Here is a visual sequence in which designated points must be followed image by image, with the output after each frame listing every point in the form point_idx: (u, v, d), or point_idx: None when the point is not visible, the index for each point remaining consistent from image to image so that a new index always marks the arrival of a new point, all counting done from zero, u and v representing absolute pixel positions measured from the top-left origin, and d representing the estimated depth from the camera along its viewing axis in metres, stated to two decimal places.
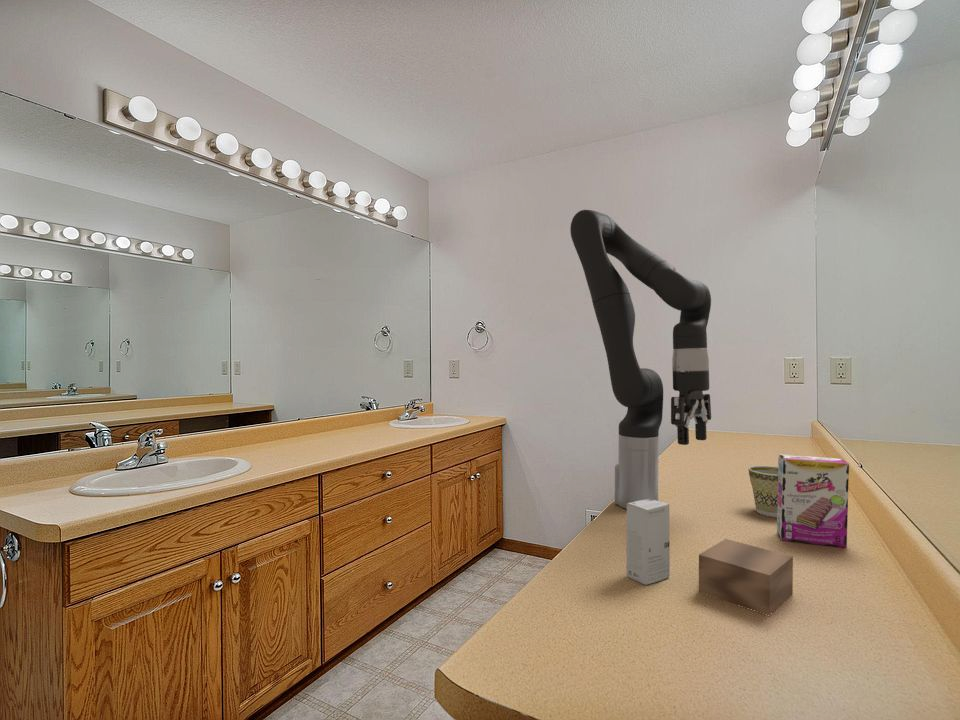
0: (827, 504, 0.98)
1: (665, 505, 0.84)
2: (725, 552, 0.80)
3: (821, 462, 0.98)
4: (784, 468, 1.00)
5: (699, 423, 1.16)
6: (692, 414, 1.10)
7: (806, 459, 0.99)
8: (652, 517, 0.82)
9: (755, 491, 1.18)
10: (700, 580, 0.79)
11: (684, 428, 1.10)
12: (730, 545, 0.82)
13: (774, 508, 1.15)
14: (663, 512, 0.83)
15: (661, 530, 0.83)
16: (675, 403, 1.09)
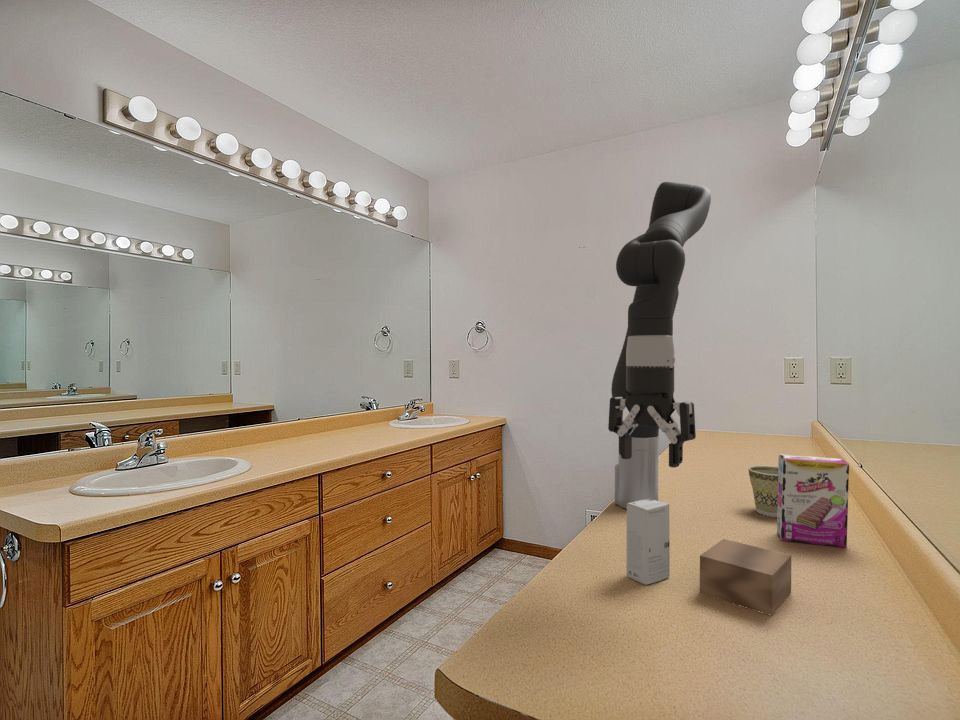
0: (827, 505, 0.98)
1: (665, 505, 0.84)
2: (725, 553, 0.79)
3: (821, 462, 0.98)
4: (784, 468, 1.00)
5: (627, 436, 0.87)
6: None
7: (806, 459, 0.99)
8: (652, 517, 0.82)
9: (755, 491, 1.18)
10: (701, 581, 0.78)
11: None
12: (729, 546, 0.82)
13: (774, 508, 1.15)
14: (663, 512, 0.83)
15: (661, 530, 0.83)
16: (690, 411, 0.79)
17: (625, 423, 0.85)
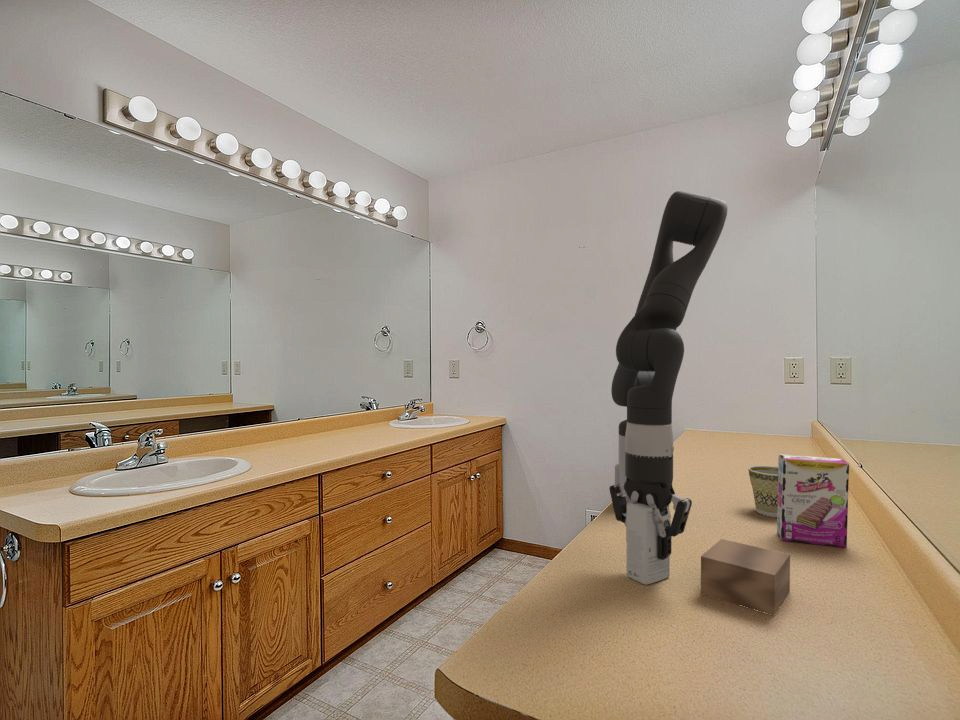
0: (827, 505, 0.98)
1: None
2: (725, 553, 0.79)
3: (821, 462, 0.98)
4: (784, 468, 1.00)
5: None
6: None
7: (806, 459, 0.99)
8: (652, 517, 0.82)
9: (755, 491, 1.18)
10: (702, 582, 0.78)
11: None
12: (728, 546, 0.82)
13: (774, 508, 1.15)
14: (663, 512, 0.83)
15: None
16: (686, 510, 0.79)
17: None
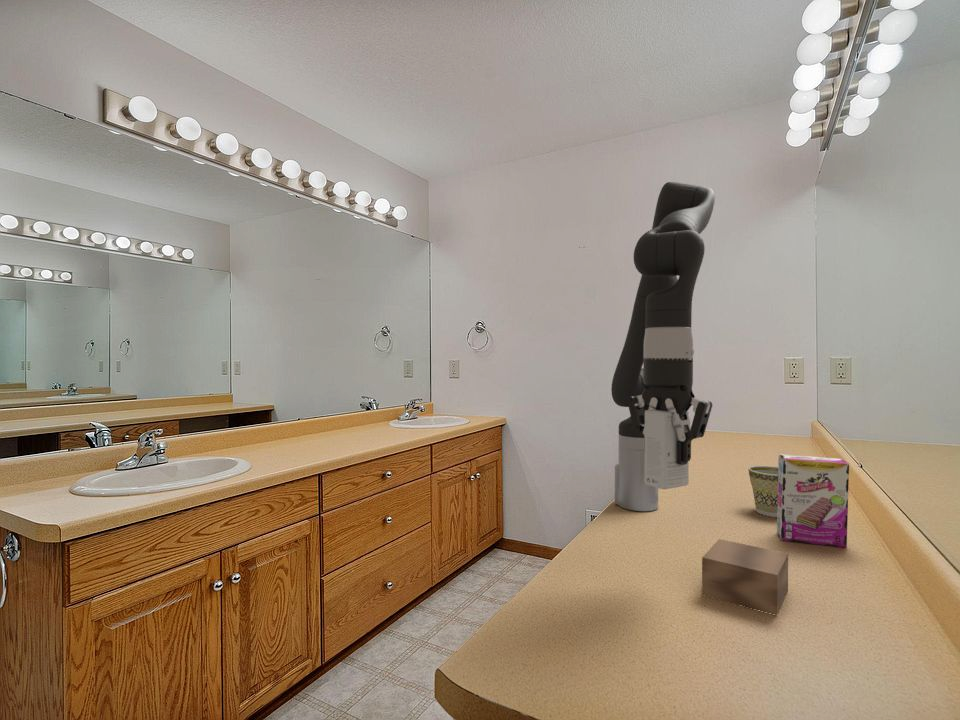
0: (827, 505, 0.98)
1: None
2: (725, 553, 0.79)
3: (821, 462, 0.98)
4: (784, 468, 1.00)
5: None
6: None
7: (806, 459, 0.99)
8: (671, 422, 0.80)
9: (755, 491, 1.18)
10: (704, 583, 0.78)
11: None
12: (726, 546, 0.82)
13: (774, 508, 1.15)
14: (682, 418, 0.82)
15: None
16: (706, 411, 0.78)
17: None
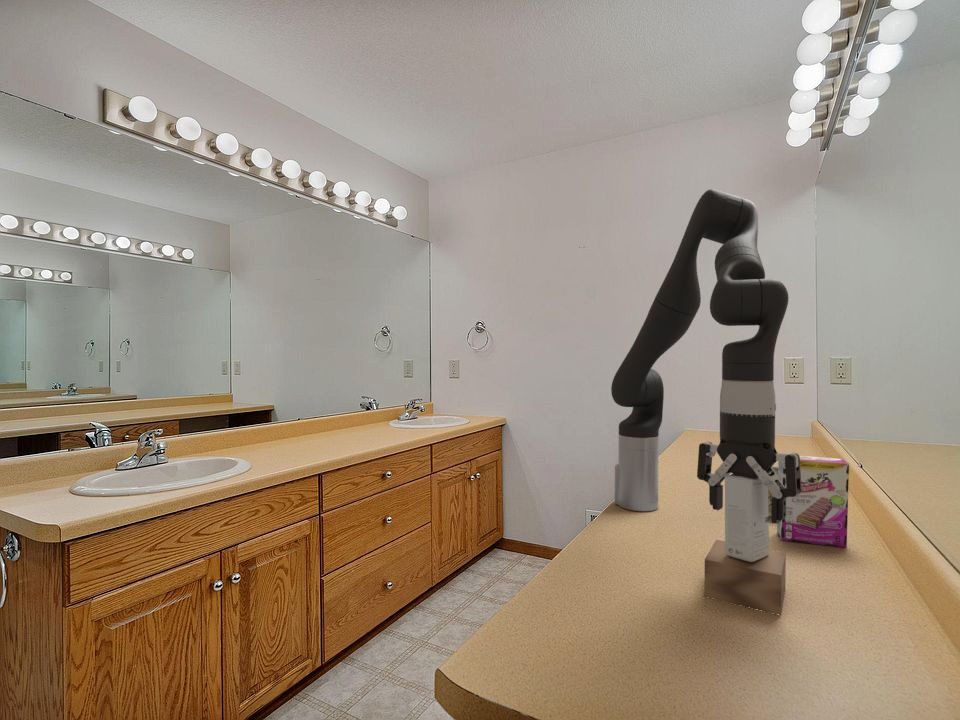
0: (827, 505, 0.98)
1: None
2: (726, 554, 0.79)
3: (821, 462, 0.98)
4: None
5: (718, 485, 0.81)
6: None
7: (806, 459, 0.99)
8: (756, 489, 0.77)
9: None
10: (706, 585, 0.77)
11: None
12: None
13: None
14: (763, 484, 0.78)
15: (763, 503, 0.78)
16: (796, 464, 0.73)
17: (718, 472, 0.80)
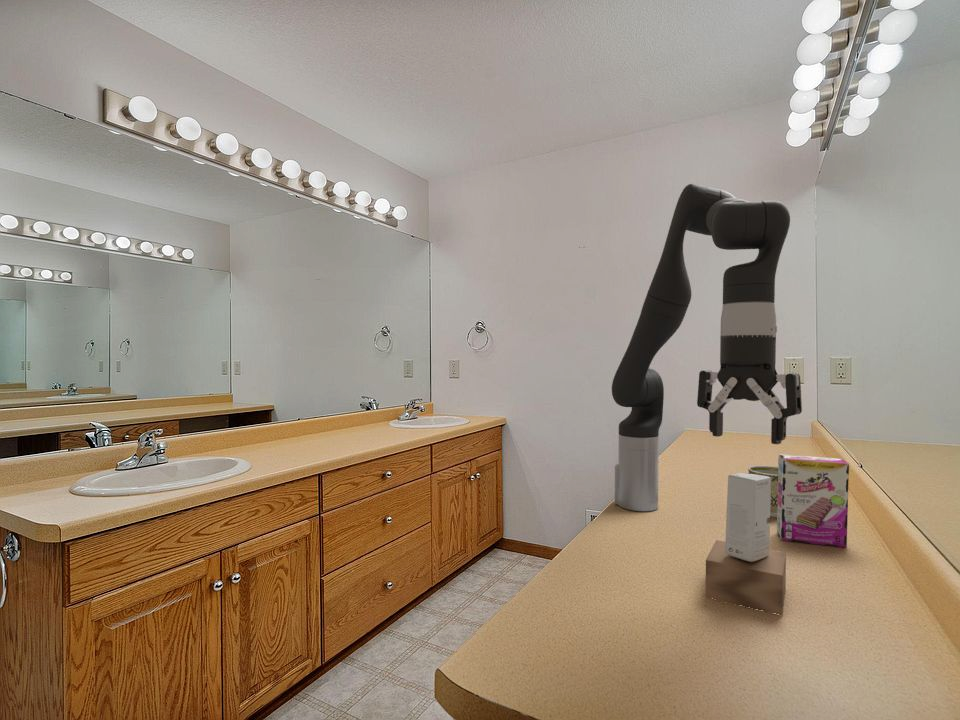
0: (827, 504, 0.98)
1: (768, 478, 0.79)
2: (727, 555, 0.79)
3: (821, 462, 0.98)
4: (784, 468, 1.00)
5: (718, 412, 0.81)
6: None
7: (806, 459, 0.99)
8: (759, 490, 0.76)
9: None
10: (707, 586, 0.77)
11: None
12: None
13: (774, 508, 1.15)
14: (766, 485, 0.78)
15: (765, 504, 0.78)
16: (797, 383, 0.73)
17: (718, 398, 0.80)
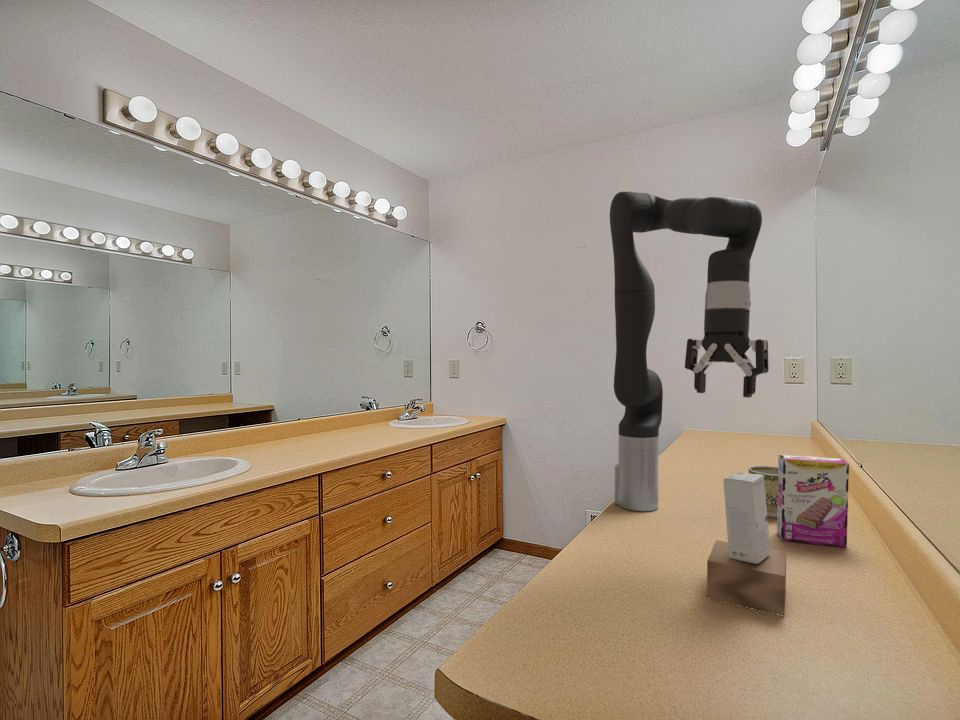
0: (827, 504, 0.98)
1: (761, 476, 0.79)
2: (728, 555, 0.78)
3: (821, 462, 0.98)
4: (784, 468, 1.00)
5: (702, 373, 0.98)
6: None
7: (806, 459, 0.99)
8: (755, 490, 0.76)
9: None
10: (709, 587, 0.76)
11: None
12: (726, 547, 0.82)
13: (774, 508, 1.15)
14: (761, 484, 0.78)
15: (762, 502, 0.78)
16: (764, 347, 0.89)
17: (702, 360, 0.96)
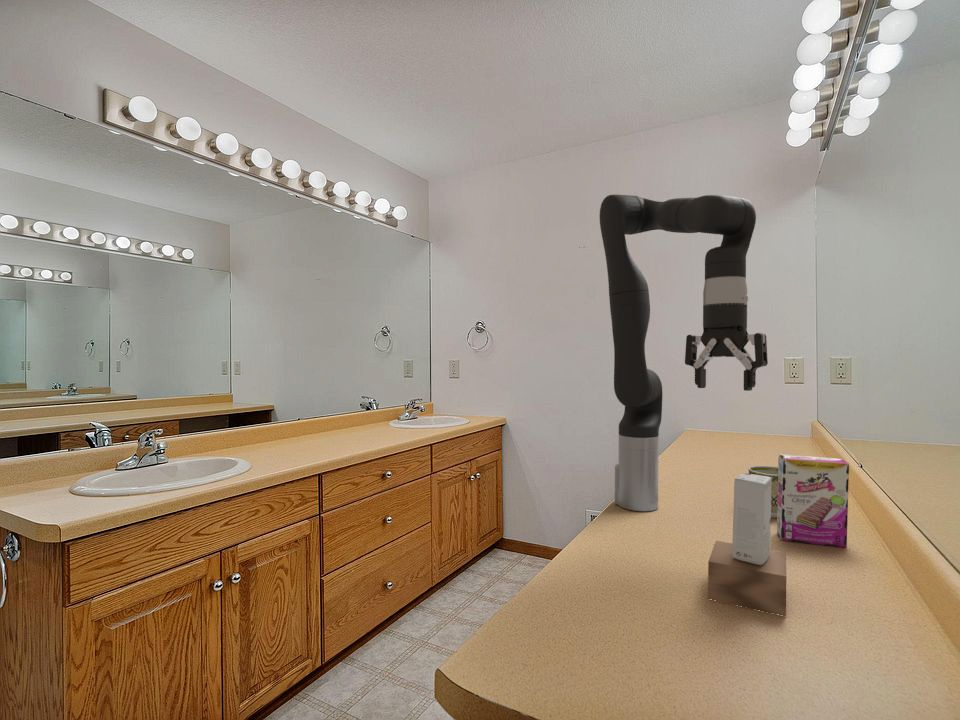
0: (827, 505, 0.98)
1: (770, 478, 0.78)
2: (728, 556, 0.78)
3: (821, 462, 0.98)
4: (784, 468, 1.00)
5: (702, 368, 0.99)
6: None
7: (806, 459, 0.99)
8: (766, 492, 0.76)
9: None
10: (710, 587, 0.76)
11: None
12: (726, 548, 0.82)
13: (774, 508, 1.15)
14: (769, 486, 0.78)
15: (769, 505, 0.77)
16: (763, 340, 0.91)
17: (702, 356, 0.98)
